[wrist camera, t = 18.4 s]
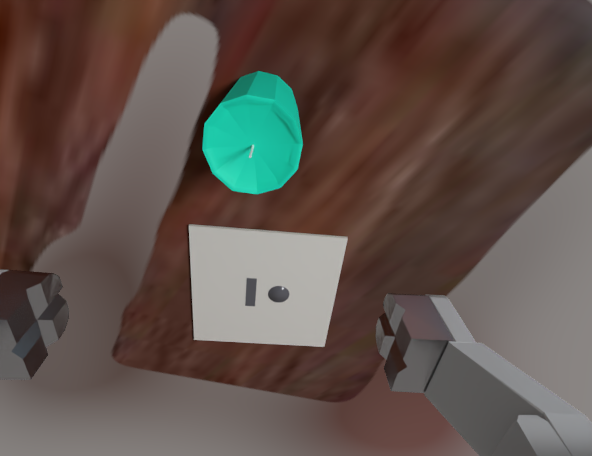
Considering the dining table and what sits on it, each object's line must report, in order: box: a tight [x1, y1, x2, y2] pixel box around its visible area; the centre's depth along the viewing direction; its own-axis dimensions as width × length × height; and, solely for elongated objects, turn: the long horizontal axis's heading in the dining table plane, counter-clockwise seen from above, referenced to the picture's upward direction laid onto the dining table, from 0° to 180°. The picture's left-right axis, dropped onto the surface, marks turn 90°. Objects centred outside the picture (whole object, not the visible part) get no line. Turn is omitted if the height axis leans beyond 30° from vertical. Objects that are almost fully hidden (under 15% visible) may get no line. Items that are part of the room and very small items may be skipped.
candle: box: [202, 71, 303, 194], centre depth 25 cm, size 6×6×12 cm
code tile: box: [189, 224, 348, 347], centre depth 40 cm, size 16×16×1 cm
